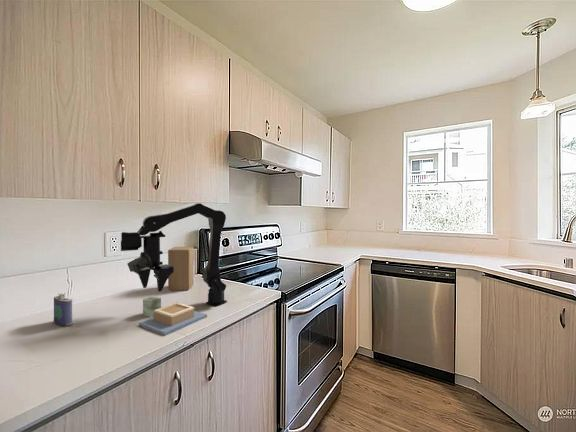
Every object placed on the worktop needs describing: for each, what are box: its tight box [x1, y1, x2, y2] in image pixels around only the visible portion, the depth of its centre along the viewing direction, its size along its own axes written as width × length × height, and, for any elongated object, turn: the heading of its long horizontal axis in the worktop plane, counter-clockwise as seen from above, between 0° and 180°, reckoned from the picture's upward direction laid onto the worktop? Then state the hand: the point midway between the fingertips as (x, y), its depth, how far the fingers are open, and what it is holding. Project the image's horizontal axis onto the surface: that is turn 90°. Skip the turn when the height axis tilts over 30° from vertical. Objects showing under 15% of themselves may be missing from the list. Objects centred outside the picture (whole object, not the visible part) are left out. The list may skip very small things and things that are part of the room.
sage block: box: [142, 295, 162, 318], centre depth 110 cm, size 4×4×6 cm
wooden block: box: [167, 246, 195, 291], centre depth 144 cm, size 10×10×20 cm
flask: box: [53, 293, 74, 328], centre depth 100 cm, size 9×3×11 cm, turn 63°
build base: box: [138, 302, 208, 336], centre depth 103 cm, size 18×14×5 cm
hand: (152, 289), depth 110 cm, fingers open, 9 cm apart
